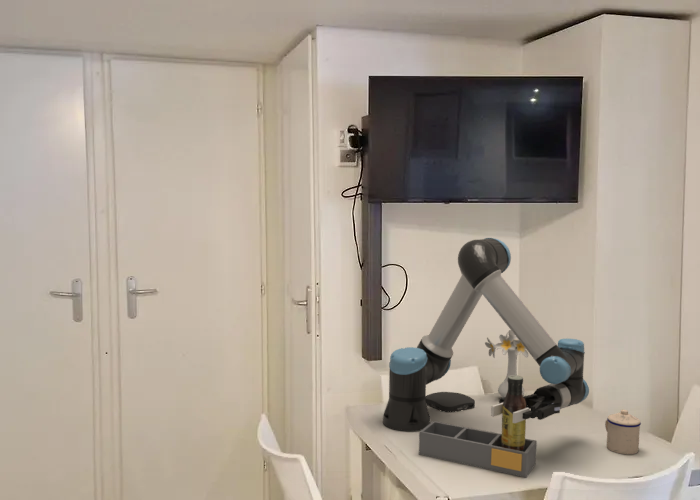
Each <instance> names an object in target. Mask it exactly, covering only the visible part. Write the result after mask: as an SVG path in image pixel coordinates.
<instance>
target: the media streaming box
mask: <svg viewBox="0 0 700 500" xmlns="http://www.w3.org/2000/svg"><path fill="white" fill-rule="evenodd" d="M425 400H426V404H427V406H429V407H431V408H434V409H435V410H437V411H440V410H441V412H443V411H445V413H456V412H455V411H457V412H462V411H461V410H463V411H467V410H471V409H474V408H475V406H476V400H475V399H473V397H470V396H469V395H466V394H463V393H460V392H454V391H436V392H432V393H430V394H427V395H426V396H425Z"/></svg>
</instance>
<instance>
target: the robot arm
mask: <svg viewBox="0 0 700 500" xmlns="http://www.w3.org/2000/svg"><path fill="white" fill-rule="evenodd" d="M511 255H512V254H511V252H510V248H509V247H508V246H507V244H506V243H505V242H504V241H502V240H501V239H498V238H494V237H493V238H492V237H485V238H482V239H473V240H469V241H468V242H466V243H464V245H462V247H460V250H459V251H458V256H457V264H458V267H459V268H458V269H459V271H460V273H461V276H460V278H459V279H458V282H457V283H456V285H455V287H454V289H453V291H451V292H452V293H451V294H450V297H449V298H448V300H447V301H446V304H444V307H443V309H442V310H441V312H440V315H439V316H438V318H437V319H436V321H435V323H434V325H433V326H432V328H431V331H430V332H429V334H426V335H423V336H422V338H421V339H420V341H419V343H418V344H417V346H416V347H412V346H411V347H409V346H406V347H403V348H402V347H401V348H398V349H396V350H394V351H392V352H391V354H390V358H389V365H388V367H389V375H388V376H389V379H388V380H389V382H388V383H389V384H388V387H389V388H388V401H387V403H386V406H385V409H384V412H383V414H382V424H383V425H384V426H385V427H387V428H389V429H392V430H395V431H400V432H401V431H403V432H418V431H421V430H422V429H424V428H425V427H426V426H428V425H429V424H430V423H431V416H430V412H429V408H428V405H427V404H426V400H425V396H427V395H426V390H427V389H426V388H427V386H426V385H428V384H431V383H432V382H434V381H439V380H440V379H441V378H443V377H444V376H445V375H446V374H447V373H448V372H449V370H450V368H451V363H452V357H454V351H453V346H454V345H455V343H456V341H457V340H458V337H459V336H460V334H461V332H463V329H464V327H465V326H466V324H467V322H468V321H469V319H470V317H471V315H472V313H473V312H474V310H475V308H476V307H477V305H478V303H479V301H480V299H481V297H482V296H483V297H484V298H485V299H486V301H487V302H488V303H489V304H490V305H491V307H492V308H493V309H494V311H495V312H496V313H497V315H498V316H499V317H500V318H501V319H502V321H503V322H504V323H505V324H506V326H507V327H508V329H509V330H511V331H512V332H513V333H514V334H515V336H516V337H517V338H518V339H519V341H520V342H521V343H522V344H523V346H524V347H525V348H526V350H527V352H528V354H529V355H530V356H531V357H532V358H533V359H534V361H535V362H536V363H537V365H538V366H539V374H540V377H542V379H543V380H544V381H545V382H547V383H549V384H547V385H543V386H540V387H538V388H537V389H536V390H534V391H533V393H532V394H528V395H523V397H524V398H525V401H526V408H525V409H522V410H519V411H516V412H513V423H518V422H520V421H523V420H526V421H527V420H530V419H533V420H534V419H537V420H538V421H542V420H544V419H546V418H548V417H550V416H553V415H555V414H560V412H561V410H562V409H565V408H568V407H571V406H574V405H578V404H579V403H581V402H583V401H585V400H586V399H587V398H588V396H589V394H590V387H589V385H588V383H587V381H586V380H585V379H584V366H585V365H584V364H585V354H586V353H585V352H586V351H585V343H584V342H583V341H582V340H580V339H577V338H561V339H559V340H557V341H558V342H557V343H556V341H555V340H554V339H553V338H552V337H551V336H550V334H549V333H548V332H547V331H546V329H545V328H544V327H543V326H542V325H541V324H540V322H539V321H538V320H537V318H536V317H535V316H534V315H533V313H532V312H531V311H530V310H529V308H528V307H527V306H526V305H525V304H524V302H523V301H522V300H521V299H520V297H519V296H518V295H517V294H516V292H515V291H514V290H513V289H512V288H511V286H510V285H509V284H508V283H507V282H506V280H505V279H504V278H503V277H502V273H504V272H505V271H506V270H507V269H508V268H509V266H510V264H511V259H512V256H511ZM498 400H499V401H498V402H499V403H497V404H494V405H491V406H490V409H491V410H490V417H493V418H495V417H496V416H501V415H502V407H503V402H504V400H505V397H504V398H502V397H501V398H498Z"/></svg>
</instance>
